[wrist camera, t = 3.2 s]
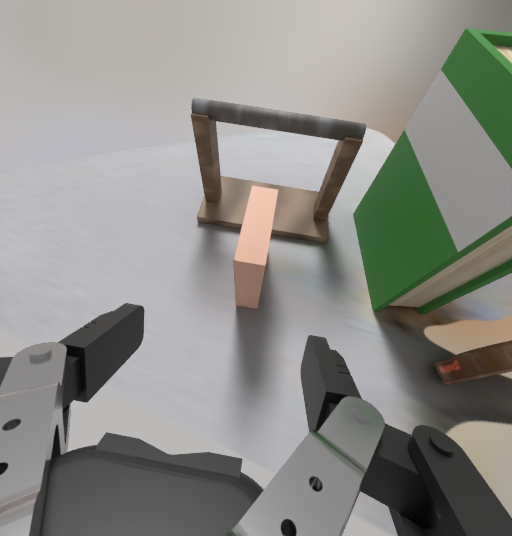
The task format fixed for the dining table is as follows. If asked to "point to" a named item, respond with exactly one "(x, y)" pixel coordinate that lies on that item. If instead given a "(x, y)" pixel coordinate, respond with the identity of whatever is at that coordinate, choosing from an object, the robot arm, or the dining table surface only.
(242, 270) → the pink c-shaped hook
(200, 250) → the dining table surface
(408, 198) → the hardback book
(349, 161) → the wooden rack with bar
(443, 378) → the tin
